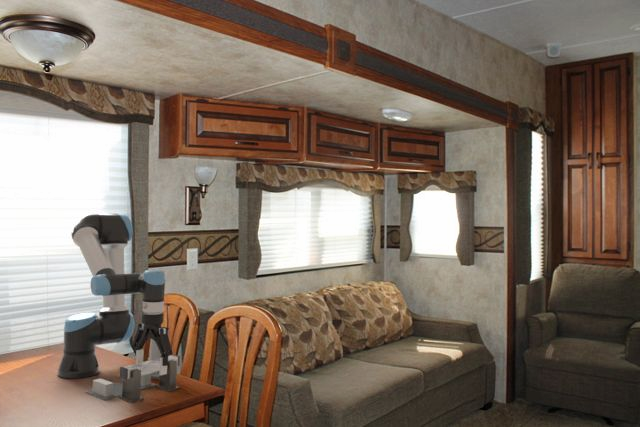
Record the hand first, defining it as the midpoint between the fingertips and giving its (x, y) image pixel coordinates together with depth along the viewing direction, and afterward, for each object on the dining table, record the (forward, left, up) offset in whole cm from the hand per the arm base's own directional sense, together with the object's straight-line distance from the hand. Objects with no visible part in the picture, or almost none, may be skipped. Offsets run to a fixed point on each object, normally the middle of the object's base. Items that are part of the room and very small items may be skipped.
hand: (151, 370), depth 200 cm
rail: (0, 0, 0) cm, 0 cm away
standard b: (0, +8, -8) cm, 12 cm away
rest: (-11, -4, -8) cm, 14 cm away
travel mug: (-13, +14, -8) cm, 21 cm away
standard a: (0, -8, -8) cm, 11 cm away
